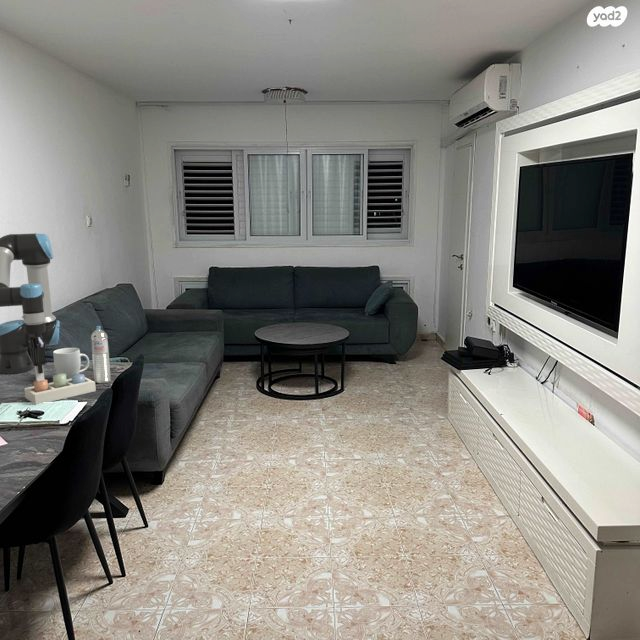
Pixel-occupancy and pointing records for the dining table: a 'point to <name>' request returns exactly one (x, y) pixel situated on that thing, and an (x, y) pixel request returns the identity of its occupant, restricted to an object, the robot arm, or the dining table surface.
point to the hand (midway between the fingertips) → (40, 380)
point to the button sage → (59, 380)
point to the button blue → (78, 378)
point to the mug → (68, 361)
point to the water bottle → (100, 356)
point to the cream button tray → (59, 391)
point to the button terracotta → (40, 386)
